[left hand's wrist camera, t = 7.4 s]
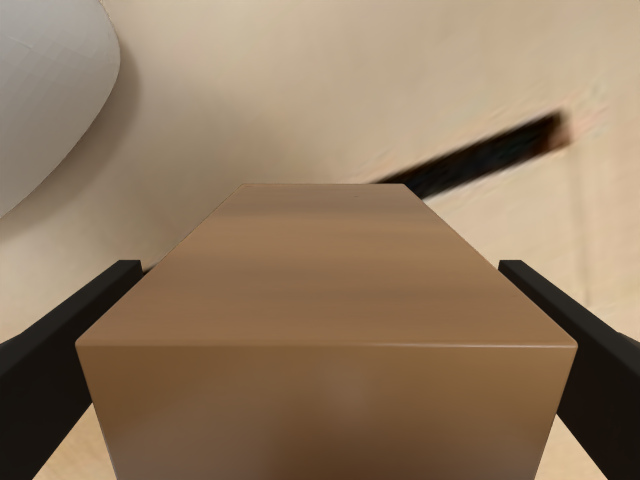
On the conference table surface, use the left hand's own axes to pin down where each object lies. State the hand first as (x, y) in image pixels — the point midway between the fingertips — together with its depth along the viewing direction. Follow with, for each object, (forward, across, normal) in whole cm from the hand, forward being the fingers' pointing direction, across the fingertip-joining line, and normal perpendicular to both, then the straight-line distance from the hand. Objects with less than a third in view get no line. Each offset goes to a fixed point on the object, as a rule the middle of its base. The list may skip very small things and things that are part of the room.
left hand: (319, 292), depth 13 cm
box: (+3, 0, -8) cm, 9 cm away
